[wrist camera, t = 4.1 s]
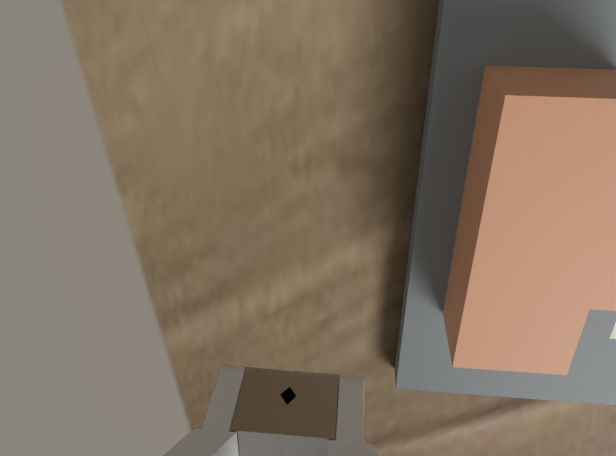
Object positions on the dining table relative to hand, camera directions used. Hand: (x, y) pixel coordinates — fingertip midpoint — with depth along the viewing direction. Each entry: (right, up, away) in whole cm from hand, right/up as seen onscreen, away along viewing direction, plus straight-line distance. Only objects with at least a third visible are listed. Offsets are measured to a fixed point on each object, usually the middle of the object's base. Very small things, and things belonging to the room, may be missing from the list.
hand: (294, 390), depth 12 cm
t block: (+11, +4, +8) cm, 14 cm away
